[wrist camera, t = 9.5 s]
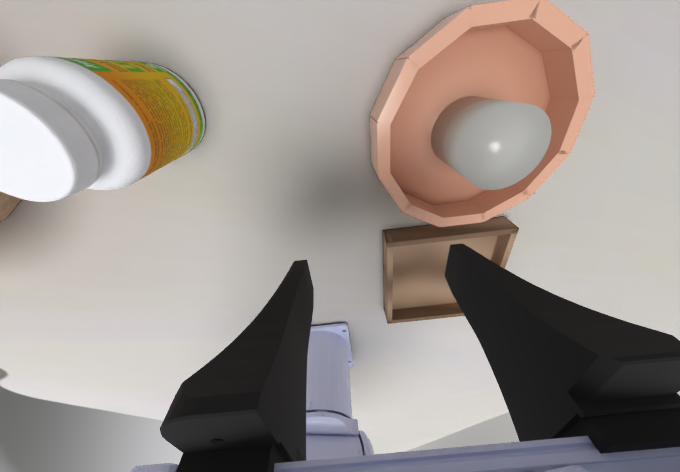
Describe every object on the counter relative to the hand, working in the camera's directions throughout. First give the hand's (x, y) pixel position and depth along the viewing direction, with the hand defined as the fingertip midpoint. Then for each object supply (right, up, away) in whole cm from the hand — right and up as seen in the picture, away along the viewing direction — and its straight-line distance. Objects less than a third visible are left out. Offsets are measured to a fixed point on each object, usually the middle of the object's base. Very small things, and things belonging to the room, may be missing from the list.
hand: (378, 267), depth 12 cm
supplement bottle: (-14, +10, +4) cm, 17 cm away
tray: (+8, -2, +13) cm, 15 cm away
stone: (+7, +9, +5) cm, 12 cm away
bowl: (+7, +9, +5) cm, 13 cm away
